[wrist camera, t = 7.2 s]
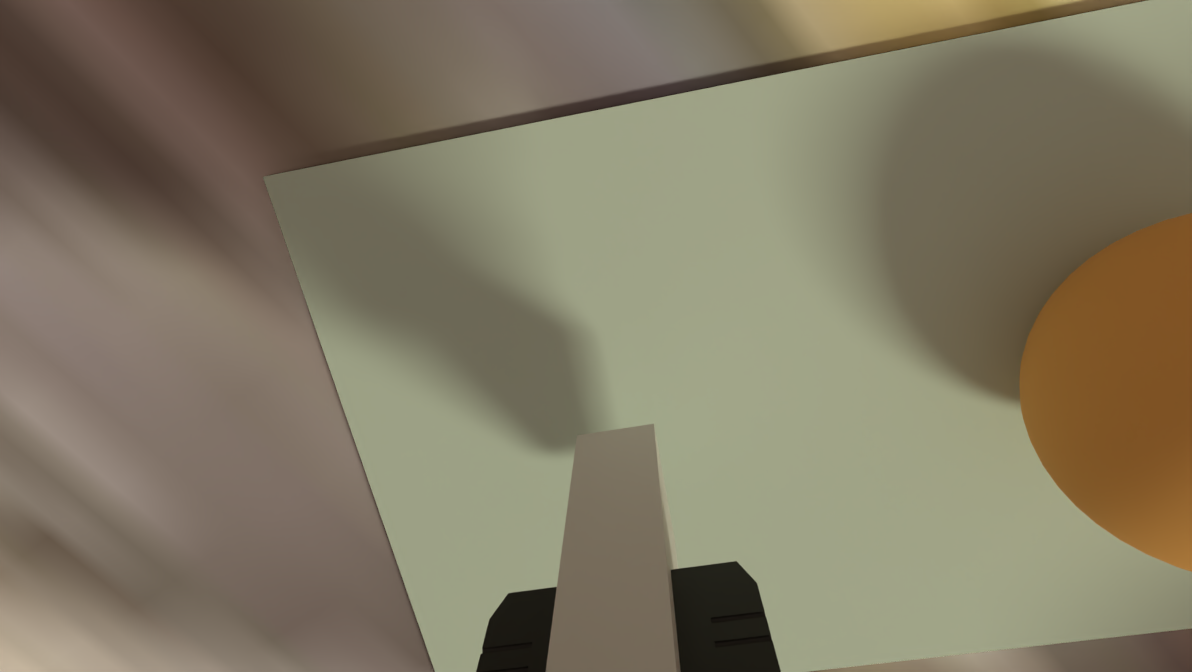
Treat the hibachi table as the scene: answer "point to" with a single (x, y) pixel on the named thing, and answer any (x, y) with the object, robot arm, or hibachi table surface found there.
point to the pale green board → (761, 333)
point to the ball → (1120, 389)
